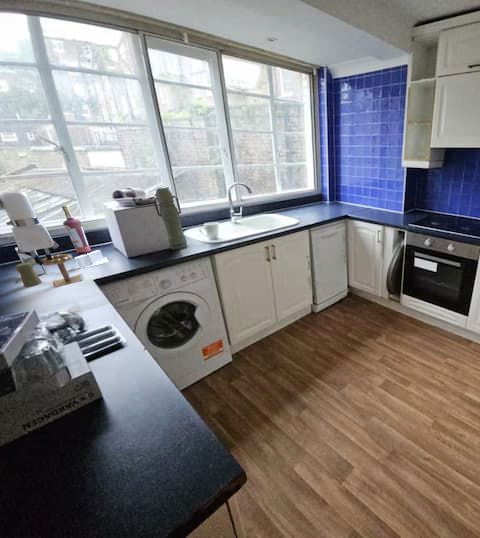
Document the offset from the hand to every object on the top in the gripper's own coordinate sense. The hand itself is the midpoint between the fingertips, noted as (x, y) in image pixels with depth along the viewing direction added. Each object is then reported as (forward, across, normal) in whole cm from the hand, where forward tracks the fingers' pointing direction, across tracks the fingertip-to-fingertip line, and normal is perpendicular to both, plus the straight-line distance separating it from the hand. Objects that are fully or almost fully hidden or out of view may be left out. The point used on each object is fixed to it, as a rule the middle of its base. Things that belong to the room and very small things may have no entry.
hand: (45, 263), depth 128 cm
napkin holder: (+11, +14, +25) cm, 31 cm away
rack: (+11, +4, 0) cm, 12 cm away
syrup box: (+11, -6, +27) cm, 30 cm away
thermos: (+11, +55, +16) cm, 58 cm away
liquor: (+11, +14, +51) cm, 54 cm away
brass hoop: (-1, +4, 0) cm, 4 cm away
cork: (+11, -7, +8) cm, 16 cm away
